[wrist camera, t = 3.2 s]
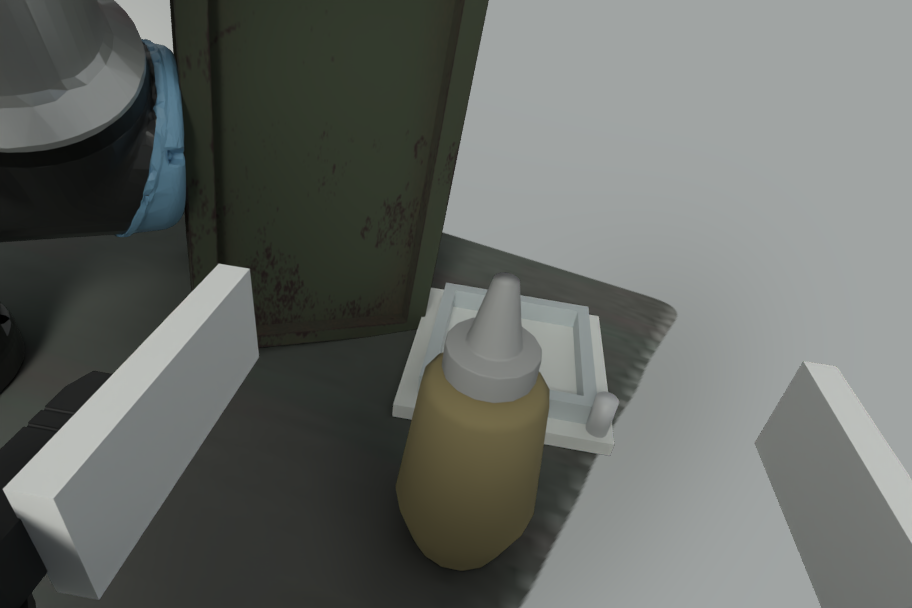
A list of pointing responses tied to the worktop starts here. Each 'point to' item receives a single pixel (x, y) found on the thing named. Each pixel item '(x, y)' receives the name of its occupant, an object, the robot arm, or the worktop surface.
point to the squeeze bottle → (476, 436)
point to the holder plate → (562, 365)
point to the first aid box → (323, 153)
